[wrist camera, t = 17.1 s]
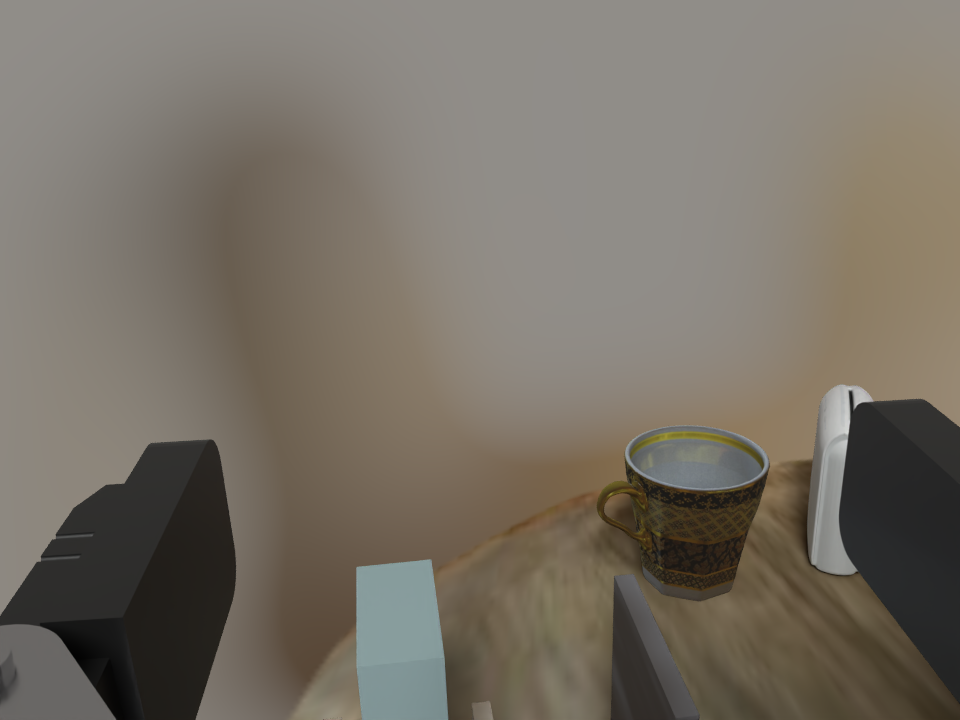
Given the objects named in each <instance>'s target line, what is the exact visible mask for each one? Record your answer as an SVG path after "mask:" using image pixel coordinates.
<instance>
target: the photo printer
mask: <svg viewBox="0 0 960 720" xmlns="http://www.w3.org/2000/svg"><path fill="white" fill-rule="evenodd" d="M862 402H874V401H873V400H872V398H871V396H870V395H869V394H868V393H867V392H866V391H865V390H864V389H862V388H860V387H859V386H856V385H855V386H846V385H838V386H835V387H834V388H832V389H831V390H829V391H828V392H827V393H826V395H825V396H824V397H823V399H822V401H821V403H820V406H819V414H818V422H817V431H816V440H815V448H814V456H813V464H812V472H811V482H810V493H809V504H808V519H807V540H808V554H809V559H810V562H811V564H812V565H815V566H816V567H817V569H819V570H821V571H823V572H826V573H830V574H835V575H851V574H854V573H855V572H858V570H857V569H856V568H855V566H854V565H853V564H852V562H851V561H850V559H849V558H848V556H847V554H846V552H845V549H844V546H843V543H842V539H841V535H840V529H839V506H840V498H841V490H842V482H843V474H844V466H845V458H846V450H847V442H848V434H849V425H850V420H851V416H852V413H853V411H854V409H855V408H856V406H857V405H858V404H860V403H862Z"/></svg>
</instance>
